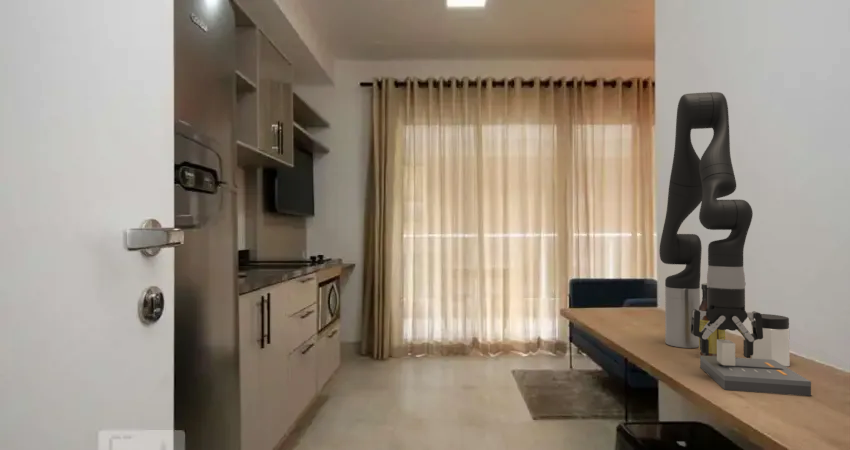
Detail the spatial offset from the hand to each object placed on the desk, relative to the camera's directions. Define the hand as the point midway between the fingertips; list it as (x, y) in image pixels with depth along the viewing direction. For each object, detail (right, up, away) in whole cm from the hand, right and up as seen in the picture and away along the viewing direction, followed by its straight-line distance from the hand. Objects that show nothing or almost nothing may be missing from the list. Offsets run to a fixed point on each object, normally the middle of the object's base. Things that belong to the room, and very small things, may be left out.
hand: (726, 356), depth 114 cm
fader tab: (0, -3, 0) cm, 3 cm away
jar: (+20, -6, +15) cm, 26 cm away
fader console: (+5, -5, -1) cm, 7 cm away
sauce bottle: (+8, -6, +20) cm, 22 cm away
